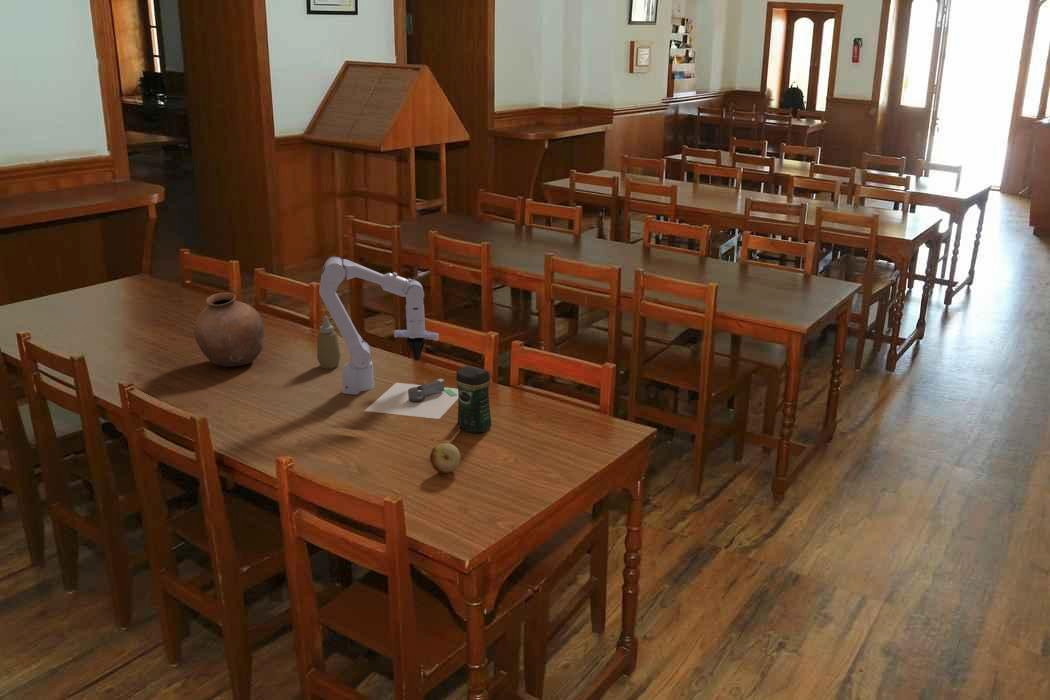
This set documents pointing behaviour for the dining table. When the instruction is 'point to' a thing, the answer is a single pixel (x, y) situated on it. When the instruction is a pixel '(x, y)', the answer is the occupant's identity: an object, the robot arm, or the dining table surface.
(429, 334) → the robot arm
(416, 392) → the grey measuring scoop
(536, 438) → the dining table surface
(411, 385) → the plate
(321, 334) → the squeeze bottle
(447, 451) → the fruit
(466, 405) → the coffee jar
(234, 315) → the pottery
